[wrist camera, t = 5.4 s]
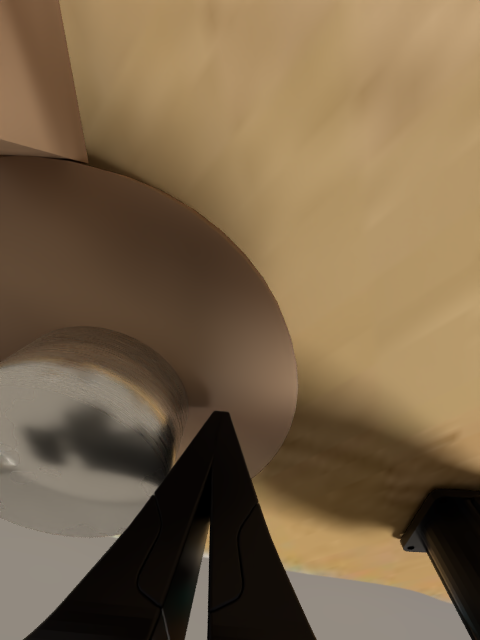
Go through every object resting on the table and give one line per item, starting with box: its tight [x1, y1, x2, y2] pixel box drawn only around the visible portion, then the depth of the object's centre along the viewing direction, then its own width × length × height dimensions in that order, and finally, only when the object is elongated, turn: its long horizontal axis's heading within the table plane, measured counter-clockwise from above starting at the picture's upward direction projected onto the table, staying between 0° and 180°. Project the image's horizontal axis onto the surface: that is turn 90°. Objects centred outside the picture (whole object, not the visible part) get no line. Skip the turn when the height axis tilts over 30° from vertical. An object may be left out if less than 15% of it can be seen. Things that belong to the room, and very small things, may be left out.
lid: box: [0, 326, 189, 537], centre depth 8 cm, size 7×7×3 cm
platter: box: [0, 0, 298, 479], centre depth 8 cm, size 22×16×3 cm
